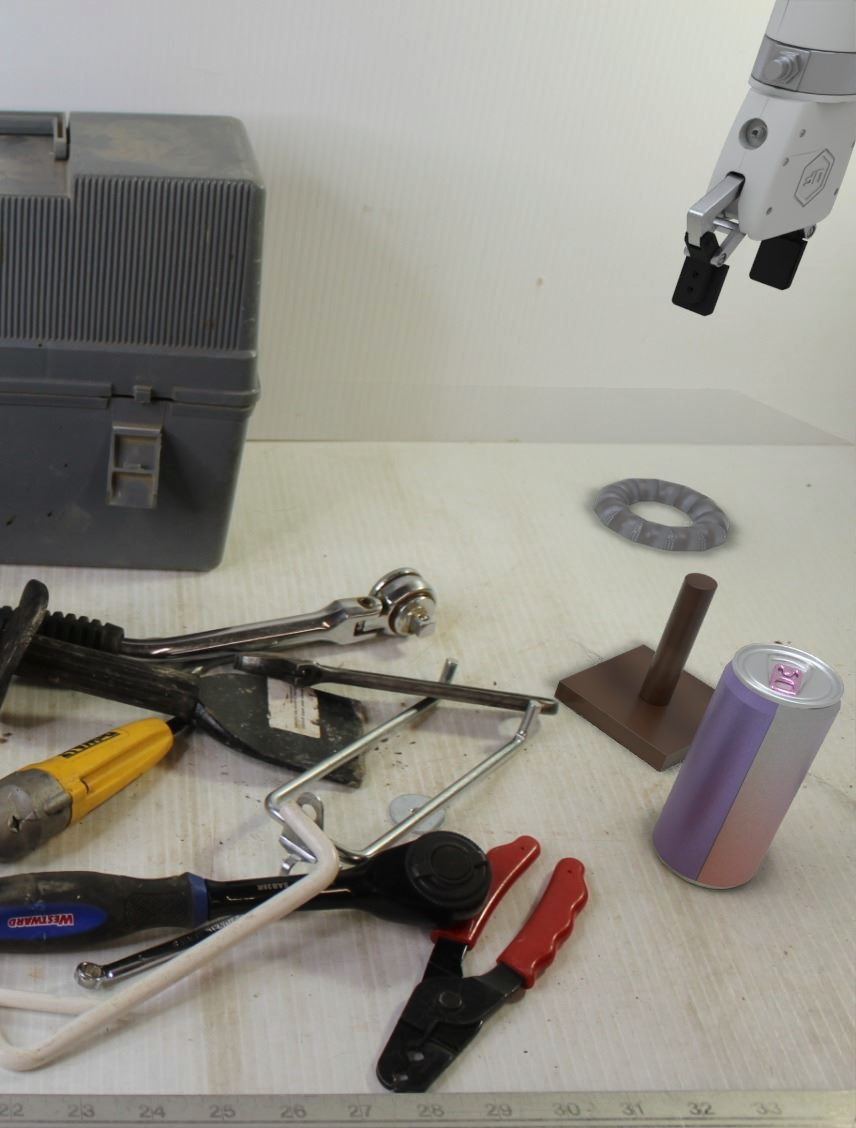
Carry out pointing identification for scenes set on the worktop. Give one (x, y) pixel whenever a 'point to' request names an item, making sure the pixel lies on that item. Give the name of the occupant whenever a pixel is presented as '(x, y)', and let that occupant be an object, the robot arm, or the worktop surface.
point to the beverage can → (746, 763)
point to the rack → (650, 686)
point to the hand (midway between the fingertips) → (730, 296)
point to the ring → (620, 519)
